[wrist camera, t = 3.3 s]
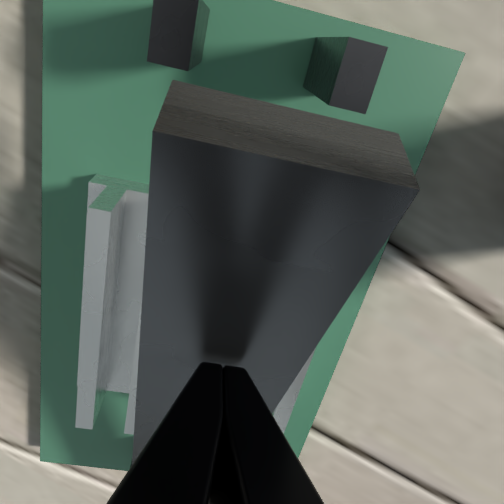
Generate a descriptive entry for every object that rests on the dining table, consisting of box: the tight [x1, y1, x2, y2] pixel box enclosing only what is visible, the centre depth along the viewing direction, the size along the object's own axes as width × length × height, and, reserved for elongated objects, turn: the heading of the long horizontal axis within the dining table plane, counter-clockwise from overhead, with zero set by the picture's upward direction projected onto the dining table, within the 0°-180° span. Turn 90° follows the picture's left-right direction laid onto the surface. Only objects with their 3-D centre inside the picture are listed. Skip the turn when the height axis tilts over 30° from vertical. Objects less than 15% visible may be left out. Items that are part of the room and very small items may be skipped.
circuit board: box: [40, 0, 465, 471], centre depth 19 cm, size 24×14×1 cm, turn 167°
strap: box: [132, 80, 420, 465], centre depth 13 cm, size 22×3×1 cm, turn 167°
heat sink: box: [75, 0, 388, 468], centre depth 17 cm, size 22×10×5 cm, turn 167°
